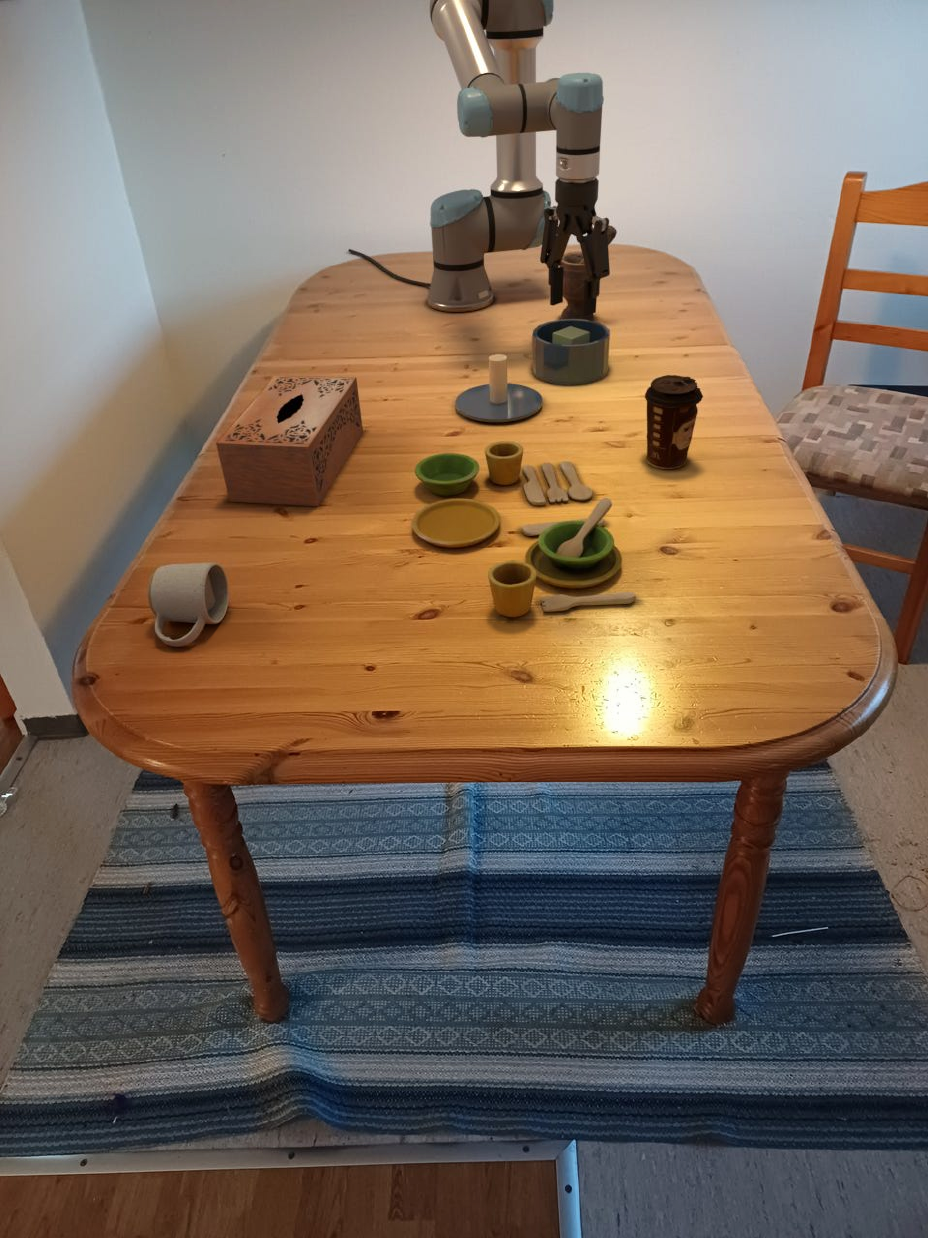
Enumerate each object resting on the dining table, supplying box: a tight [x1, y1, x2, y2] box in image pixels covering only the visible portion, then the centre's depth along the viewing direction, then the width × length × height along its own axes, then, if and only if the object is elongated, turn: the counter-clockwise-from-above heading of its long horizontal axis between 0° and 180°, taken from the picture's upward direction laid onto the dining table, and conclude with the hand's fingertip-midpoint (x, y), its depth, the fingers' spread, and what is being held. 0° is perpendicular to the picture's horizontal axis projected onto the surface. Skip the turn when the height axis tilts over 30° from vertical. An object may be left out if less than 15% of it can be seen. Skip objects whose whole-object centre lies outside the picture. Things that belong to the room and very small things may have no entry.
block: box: [553, 326, 590, 345], centre depth 172 cm, size 5×5×7 cm
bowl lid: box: [454, 353, 544, 423], centre depth 160 cm, size 16×16×9 cm
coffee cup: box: [644, 374, 704, 470], centre depth 140 cm, size 9×8×13 cm
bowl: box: [531, 319, 611, 386], centre depth 173 cm, size 15×15×8 cm
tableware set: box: [411, 440, 637, 618], centre depth 126 cm, size 41×28×6 cm
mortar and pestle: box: [559, 224, 618, 321], centre depth 191 cm, size 12×9×20 cm
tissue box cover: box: [215, 374, 364, 507], centre depth 145 cm, size 26×14×10 cm, turn 170°
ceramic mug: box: [146, 561, 230, 648], centre depth 112 cm, size 11×8×8 cm
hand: (572, 308), depth 170 cm, fingers open, 8 cm apart
